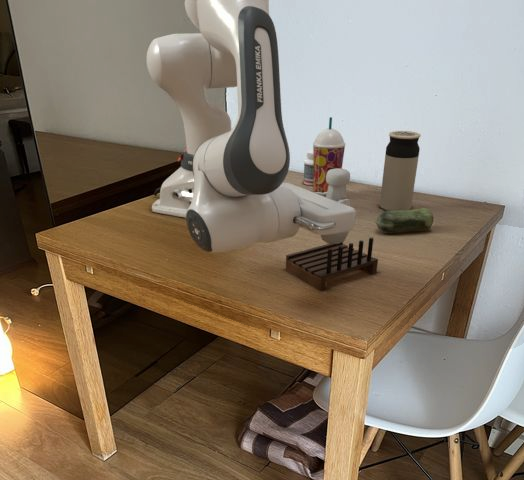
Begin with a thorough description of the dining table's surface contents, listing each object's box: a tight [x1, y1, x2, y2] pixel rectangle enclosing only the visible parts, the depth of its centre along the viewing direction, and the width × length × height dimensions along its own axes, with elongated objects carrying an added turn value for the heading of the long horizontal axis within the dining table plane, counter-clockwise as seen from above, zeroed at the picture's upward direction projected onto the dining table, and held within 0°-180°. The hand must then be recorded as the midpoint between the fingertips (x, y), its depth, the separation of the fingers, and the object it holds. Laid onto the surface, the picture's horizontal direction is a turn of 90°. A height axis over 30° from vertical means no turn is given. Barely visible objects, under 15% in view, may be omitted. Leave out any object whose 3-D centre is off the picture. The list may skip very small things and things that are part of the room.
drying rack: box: [285, 237, 379, 291], centre depth 105 cm, size 11×14×7 cm
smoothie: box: [312, 116, 346, 193], centre depth 143 cm, size 8×8×20 cm
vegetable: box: [374, 207, 435, 234], centre depth 124 cm, size 14×5×5 cm, turn 102°
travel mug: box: [379, 130, 421, 211], centre depth 135 cm, size 8×8×18 cm
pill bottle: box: [303, 149, 314, 186], centre depth 157 cm, size 5×5×9 cm
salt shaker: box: [320, 168, 351, 244], centre depth 100 cm, size 6×6×13 cm
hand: (339, 199), depth 100 cm, fingers closed on salt shaker, 3 cm apart
